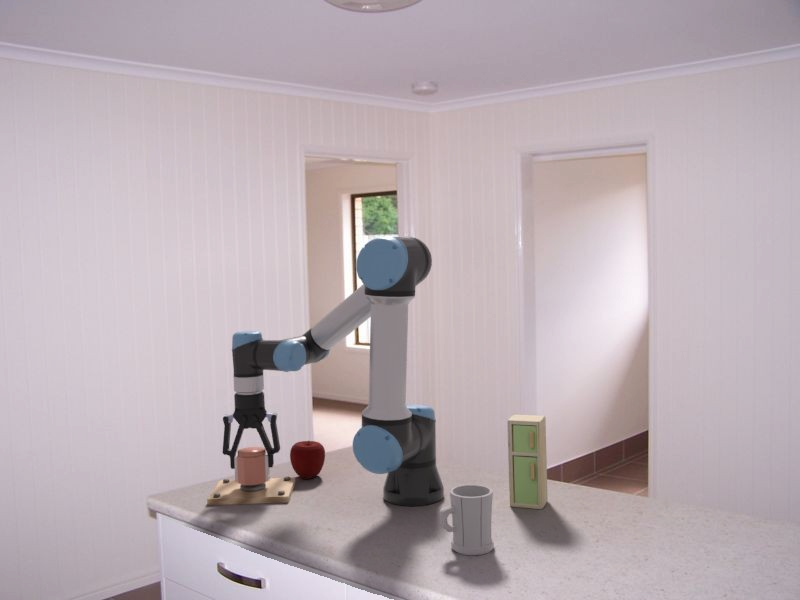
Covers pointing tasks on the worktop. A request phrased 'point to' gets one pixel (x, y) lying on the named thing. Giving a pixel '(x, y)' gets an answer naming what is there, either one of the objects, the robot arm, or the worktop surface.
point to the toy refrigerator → (527, 461)
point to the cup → (469, 519)
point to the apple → (307, 458)
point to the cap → (251, 466)
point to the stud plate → (252, 492)
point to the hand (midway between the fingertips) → (252, 480)
